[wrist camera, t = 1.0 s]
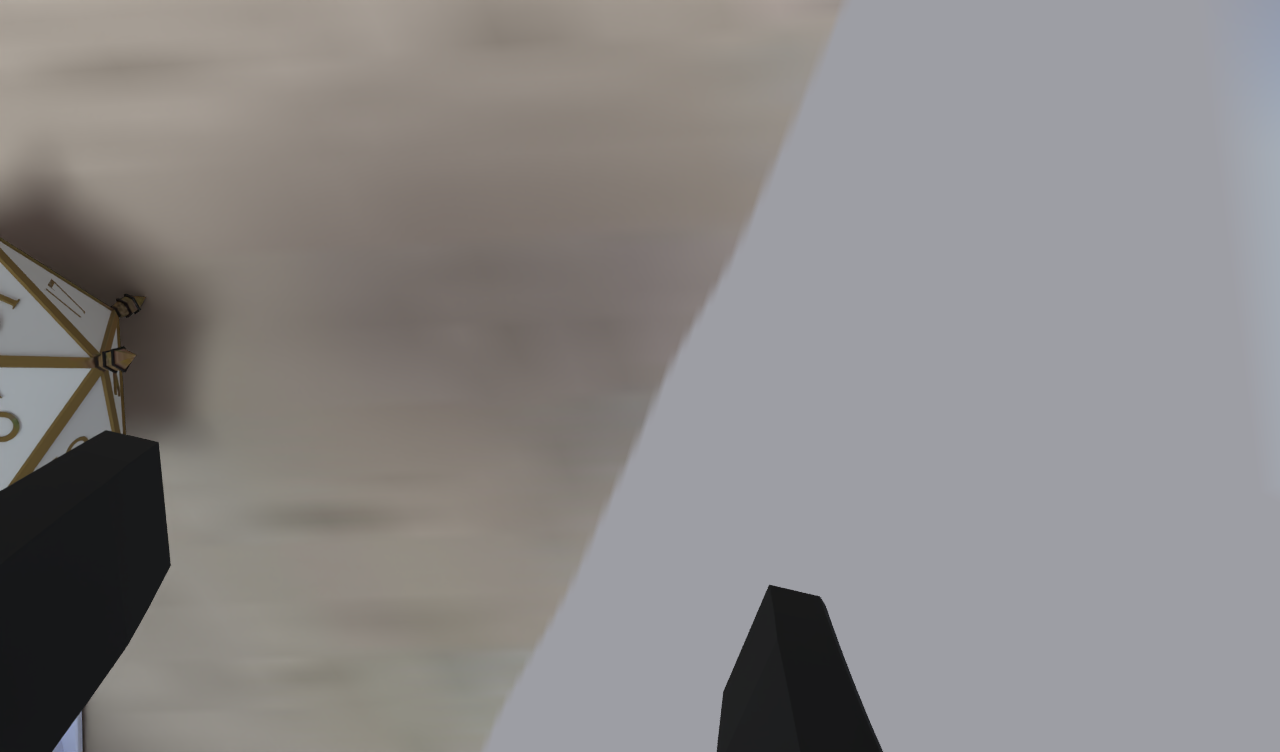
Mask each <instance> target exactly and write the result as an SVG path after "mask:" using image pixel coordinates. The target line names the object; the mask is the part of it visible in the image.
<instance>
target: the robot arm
mask: <svg viewBox="0 0 1280 752" xmlns="http://www.w3.org/2000/svg"><path fill="white" fill-rule="evenodd" d="M170 566H171V564H170V553H169V543H168V533H167V523H166V513H165V503H164V493H163V482H162V472H161V462H160V452H159V442H155V441H151V440H146V439H142V438H138V437H134V436H129V435H125V434H121V433H116V432H112V431H108V430H105V431H103V432H102V433H100V434H98V435H96V436H94V437H93V438H91V439H89V440H87V441H85V442H84V443H82V444H80V445H78V446H77V447H75V448H73V449H72V450H70V451H68V452H66V453H65V454H63V455H61V456H59V457H58V458H56V459H54V460H53V461H51V462H49V463H47V464H46V465H44V466H42V467H41V468H39V469H37V470H35V471H34V472H32V473H30V474H29V475H27V476H25V477H23V478H22V479H20V480H18V481H17V482H15V483H13V484H11V485H10V486H8V487H6V488H4V489H3V490H1V491H0V752H83V748H82V710H83V708H84V707H85V705H86V704H87V702H88V701H89V700H90V698H91V697H92V695H93V694H94V693H95V691H96V690H97V688H98V687H99V685H100V684H101V683H102V681H103V680H104V678H105V677H106V676H107V674H108V673H109V671H110V670H111V668H112V667H113V666H114V664H115V663H116V661H117V660H118V658H119V657H120V655H121V654H122V653H123V651H124V650H125V648H126V647H127V645H128V644H129V642H130V640H131V638H132V637H133V635H134V633H135V631H136V630H137V628H138V626H139V624H140V622H141V621H142V619H143V617H144V615H145V613H146V612H147V610H148V608H149V606H150V604H151V602H152V600H153V598H154V596H155V595H156V593H157V591H158V589H159V587H160V585H161V583H162V581H163V579H164V577H165V575H166V573H167V572H168V570H169V568H170ZM717 752H883V751H882V749H881V746H880V744H879V742H878V739H877V737H876V735H875V733H874V730H873V728H872V726H871V723H870V721H869V719H868V716H867V714H866V712H865V709H864V706H863V704H862V701H861V699H860V696H859V694H858V692H857V690H856V686H855V684H854V682H853V679H852V676H851V674H850V671H849V669H848V666H847V664H846V661H845V658H844V656H843V653H842V650H841V648H840V645H839V642H838V639H837V637H836V634H835V631H834V628H833V626H832V623H831V620H830V617H829V614H828V611H827V608H826V606H825V604H824V602H823V601H822V599H821V598H820V596H815V595H811V594H806V593H802V592H798V591H794V590H790V589H785V588H781V587H777V586H772V585H769V587H768V589H767V591H766V593H765V596H764V598H763V600H762V603H761V606H760V607H759V610H758V612H757V615H756V617H755V619H754V622H753V624H752V626H751V629H750V631H749V633H748V636H747V638H746V641H745V643H744V645H743V647H742V650H741V652H740V654H739V657H738V659H737V661H736V664H735V666H734V668H733V671H732V673H731V675H730V678H729V680H728V682H727V685H726V687H725V689H724V692H723V700H722V709H721V717H720V726H719V735H718V746H717Z"/></svg>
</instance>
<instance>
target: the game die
mask: <svg viewBox="0 0 1280 752" xmlns="http://www.w3.org/2000/svg"><path fill="white" fill-rule="evenodd" d="M145 298H146V297H140V296H130V295H128V294H124V297H123V298H122V299H119V298H118V299H116V301H117V302H116V303H115V304H114V305H113V306H111V307H109V306H108V305H106V304H105V303H103V302H101V301H100V300H98V299H97V298H95V297H93V296H92V295H90V294H89V293H87V292H86V291H84V290H82V289H81V288H79V287H78V286H76V285H74V284H73V283H71V282H70V281H68V280H67V279H65V278H63V277H62V276H60V275H59V274H57V273H56V272H54V271H52V270H51V269H49V268H48V267H46V266H44V265H43V264H41V263H40V262H38V261H37V260H35V259H33V258H32V257H30V256H29V255H27V254H25V253H24V252H22V251H21V250H19V249H18V248H16V247H14V246H13V245H11V244H10V243H8V242H7V241H5V240H3V239H2V238H0V491H1V490H3V489H4V488H6V487H8V486H10V485H11V484H13V483H15V482H17V481H18V480H20V479H22V478H23V477H25V476H27V475H29V474H30V473H32V472H34V471H35V470H37V469H39V468H41V467H42V466H44V465H46V464H47V463H49V462H51V461H53V460H54V459H56V458H58V457H59V456H61V455H63V454H65V453H66V452H68V451H70V450H72V449H73V448H75V447H77V446H78V445H80V444H82V443H84V442H85V441H87V440H89V439H91V438H93V437H94V436H96V435H98V434H100V433H102V432H103V431H105V430H108V431H112V432H116V433H121V434H125V435H126V426H125V410H124V393H123V376H122V371H123V372H126V371H127V369H128V367H129V365H130V364H131V362H132V360H133V359H134V358H135V356H136V355H135V354H133V353H131V352H130V351H128V350H126V348H125V347H124V346H123V347H121V343H120V327H119V317H124V316H125V317H126V318H127V317H129V316H130V315H132V314H133V313H134V314H136V313H138V312H139V311H140V310H141V309H140V307H141V305H142V303H143V301H144V300H145Z"/></svg>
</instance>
